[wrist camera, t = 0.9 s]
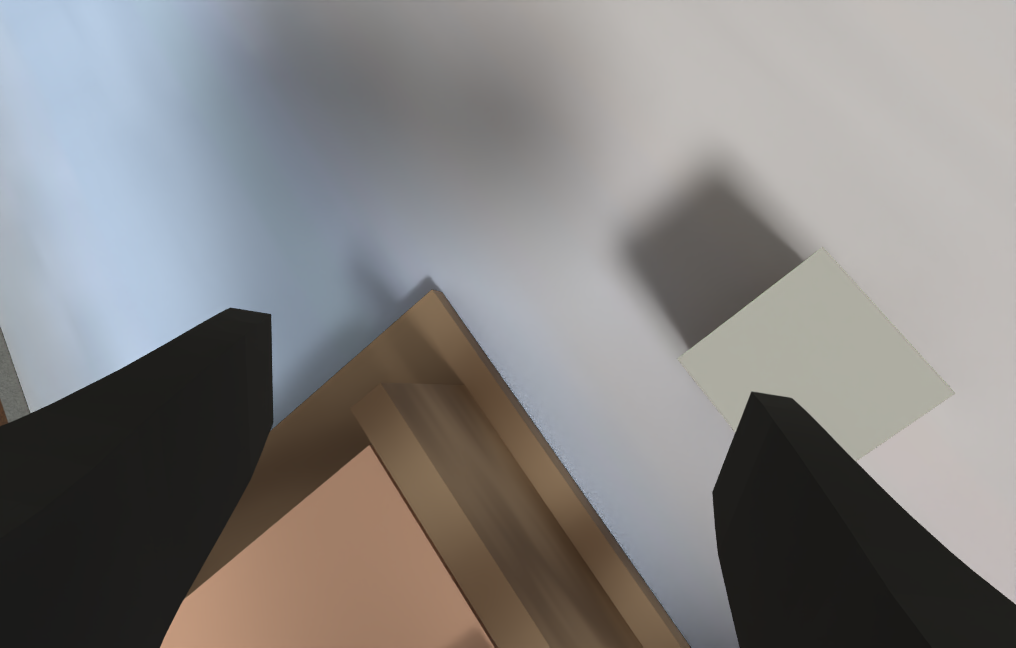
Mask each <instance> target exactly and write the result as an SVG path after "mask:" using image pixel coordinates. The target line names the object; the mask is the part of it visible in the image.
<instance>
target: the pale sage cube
mask: <svg viewBox="0 0 1016 648" xmlns="http://www.w3.org/2000/svg"><path fill="white" fill-rule="evenodd" d="M678 361H679V362H680V363H681V364H682V366H683V367H684V368H685V369H686V371H687V372H688V373H689V374H690V376H691V377H692V378H693V380H694V381H695V382H696V383H697V385H698V386H699V387H700V388H701V390H702V391H703V392H704V393H705V395H706V396H707V397H708V399H709V400H710V401H711V402H712V404H713V405H714V406H715V407H716V409H717V410H718V411H719V412H720V414H721V415H722V416H723V418H724V419H725V420H726V421H727V423H728V424H729V425H730V426H731V428H732V429H733V430H734V431H735V432H736V430H737V427H738V425H739V422H740V420H741V417H742V414H743V412H744V409H745V407H746V404H747V401H748V399H749V396H750V394H751V391H753V392H759V393H765V394H771V395H778V396H784V397H790V398H793V399H794V400H795V401H796V402H797V403H798V404H799V405H800V406H802V407H803V408H804V409H805V410H806V411H807V412H808V413H809V414H810V415H811V416H812V417H813V418H814V419H815V420H816V421H817V422H818V423H819V424H820V425H821V426H822V427H823V428H824V429H825V430H826V431H827V432H828V433H829V434H830V436H831V437H832V438H833V439H834V440H835V441H836V442H837V443H838V444H839V445H840V446H841V447H842V448H843V449H844V450H845V451H846V452H847V453H848V454H849V455H850V456H851V457H852V458H853V459H854V460H855V461H858V460H859V459H860V458H862V457H863V456H865V455H866V454H868V453H869V452H871V451H872V450H874V449H875V448H877V447H878V446H879V445H881V444H882V443H884V442H885V441H887V440H888V439H890V438H891V437H893V436H894V435H895V434H897V433H898V432H900V431H901V430H903V429H904V428H906V427H907V426H909V425H910V424H912V423H913V422H914V421H916V420H917V419H919V418H920V417H922V416H923V415H925V414H926V413H928V412H929V411H931V410H932V409H933V408H935V407H936V406H938V405H939V404H941V403H942V402H944V401H945V400H947V399H948V398H949V397H951V396H952V395H954V394H955V392H954V391H953V390H952V389H951V388H950V387H949V386H948V385H947V383H946V382H945V381H944V380H943V379H942V378H941V377H940V376H939V375H938V374H937V372H936V371H935V370H934V369H933V368H932V367H931V366H930V365H929V364H928V363H927V361H926V360H925V359H924V358H923V357H922V356H921V355H920V354H919V353H918V351H917V350H916V349H915V348H914V347H913V346H912V345H911V344H910V343H909V342H908V340H907V339H906V338H905V337H904V336H903V335H902V334H901V333H900V332H899V331H898V329H897V328H896V327H895V326H894V325H893V324H892V323H891V322H890V321H889V319H888V318H887V317H886V316H885V315H884V314H883V313H882V312H881V311H880V310H879V308H878V307H877V306H876V305H875V304H874V303H873V302H872V301H871V300H870V299H869V297H868V296H867V295H866V294H865V293H864V292H863V291H862V290H861V289H860V288H859V286H858V285H857V284H856V283H855V282H854V281H853V280H852V279H851V278H850V276H849V275H848V274H847V273H846V272H845V271H844V270H843V269H842V268H841V267H840V265H839V264H838V263H837V262H836V261H835V260H834V259H833V258H832V257H831V256H830V254H829V253H828V252H827V251H826V250H825V249H824V248H823V247H822V248H821V249H819V250H818V251H817V252H815V253H814V254H813V255H812V256H810V257H809V258H808V259H806V260H805V261H804V262H802V263H801V264H800V265H799V266H797V267H796V268H795V269H793V270H792V271H791V272H789V273H788V274H787V275H786V276H784V277H783V278H782V279H780V280H779V281H778V282H776V283H775V284H774V285H773V286H771V287H770V288H769V289H767V290H766V291H765V292H763V293H762V294H761V295H760V296H758V297H757V298H756V299H754V300H753V301H752V302H750V303H749V304H748V305H747V306H745V307H744V308H743V309H741V310H740V311H739V312H737V313H736V314H735V315H734V316H732V317H731V318H730V319H728V320H727V321H726V322H724V323H723V324H722V325H721V326H719V327H718V328H717V329H715V330H714V331H713V332H711V333H710V334H709V335H708V336H706V337H705V338H704V339H702V340H701V341H700V342H698V343H697V344H696V345H695V346H693V347H692V348H691V349H689V350H688V351H687V352H685V353H684V354H683V355H682V356H680V357H679V358H678Z"/></svg>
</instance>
